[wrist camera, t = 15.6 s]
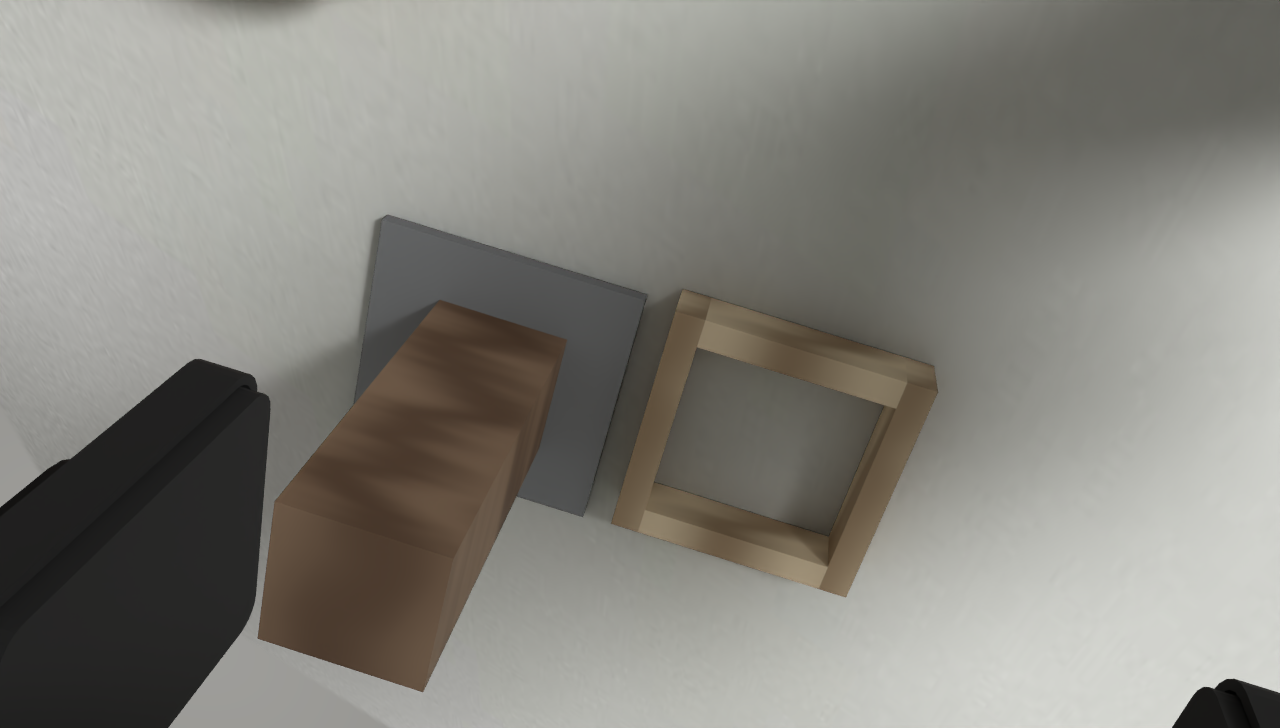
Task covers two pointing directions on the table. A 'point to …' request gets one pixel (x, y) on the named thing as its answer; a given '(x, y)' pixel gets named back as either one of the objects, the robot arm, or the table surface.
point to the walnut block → (409, 497)
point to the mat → (529, 296)
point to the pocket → (806, 358)
